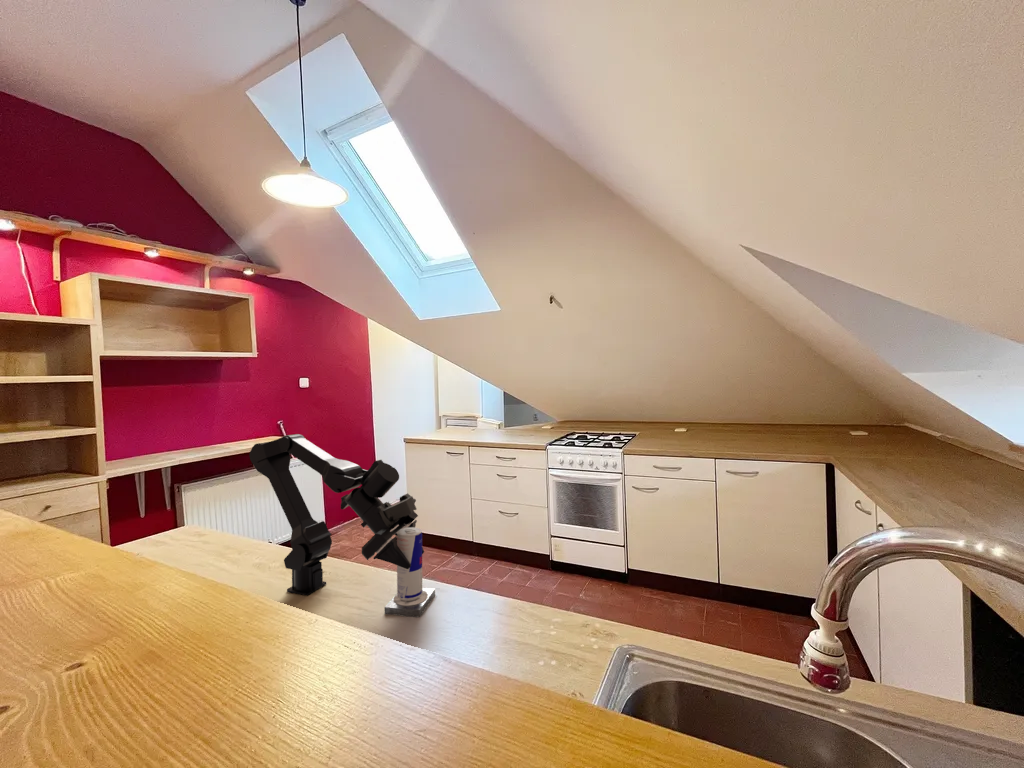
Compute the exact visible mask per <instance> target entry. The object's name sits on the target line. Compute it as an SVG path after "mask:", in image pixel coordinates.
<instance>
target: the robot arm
mask: <svg viewBox="0 0 1024 768" xmlns="http://www.w3.org/2000/svg"><path fill="white" fill-rule="evenodd" d="M250 449H251V450H249V460H250V462H251V463H252V465H253V467H254V468H255V470H256V471H257V472H258V473H259V474H261V475H263V476H264V477H265V478H267V479H268V481H269V483H270V486H271V487H272V489H273V491H274V493H275V496H276V498H277V500H278V503H279V504H280V506H281V509H282V510H283V514H285V518H286V519H287V521H288V523H289V527H291V535H290V536H291V537H290V546H291V551H289V553H288V554H287V555H286V556H285V558H284V559H283V563H284V566H285V569H288V570H291V579H292V580H291V586H290V587H288V588H287V589H286V592H287V593H288V592H289V593H293V594H298V595H303V596H309V595H311V594H312V593H314V592H316V591H317V590H319V589H321V588H322V587H325V586H326V585H327V581H323V574H324V573H323V568H322V566H323V565H322V561H323V560H324V559H325V560H326V559H327V558H328V555H329V551H330V550H331V547H332V544H333V540H332V537H331V536H332V533H331V532H330V530H329V529H328V526H327V523H326V522H325V521H324V520H321V521H319V522H318V521H316V520H315V519H314V518H313V517H312V515H311V513H310V510H309V507H307V504H306V502H305V500H304V498H303V495H302V494H301V491H300V489H299V488H298V484H297V483H296V480H295V479H294V477H293V475H292V473H291V470H290V465H291V456H293V457H294V458H296V459H297V460H299V461H300V462H301V463H303V464H305V465H307V466H308V467H309V468H311V469H312V470H314V471H315V472H317V473H319V475H320V476H321V479H322V481H323V483H324V484H325V485H326V486H327V487H328V488H329V489H330V490H331V491H332V492H334V493H336V494H342V493H343V492H346V491H350V490H351V491H350V493H349V494H344V495H343V496H341V497H340V498H341V500H340V501H341V502H340V509H341V510H345V509H346V508H348V507H350V508H351V510H353V511H354V513H355V514H356V515H357V516H358V517H359V518H360V520H361V521H362V522H361V523H360V526H361V527H362V528H365V527H367V528H368V529H369V530H370V531H371V532H372V533H373V536H372V537H371V538H370V539H368V541H367V542H365V544H363V546H362V547H361V555H362V556H363V557H364V558H365V560H367V561H368V560H369V559H371V558H373V560H380V561H384V562H387V563H389V564H393V565H395V566H396V567H397V566H400V567H403V568H405V569H409V568H410V567H411V564H410V562H409V561H408V559H407V558H406V557H405V555H404V554H403V553H402V551H401V550H400V548H399V547H398V546H397V535H398V531H399V530H401V529H403V528H411V527H414V528H416V524H417V522H418V521H417V518H418V517H419V515H418V514H417V513H416V510H417V506H416V505H415V503H416V501H417V500H416V498H414V497H413V495H410V494H409V493H405V494H403V495H401V496H400V497H399V502H396V503H394V504H391V503H390V502H389V501H388V502H387V501H386V502H383V501H381V498H383V497H385V496H386V494H387V493H388V492H389V491H390V490H391V489H392V488H393V487H394V486H395V484H396V483H398V481H399V480H400V474H399V472H398V470H397V469H396V467H393V466H392V465H390V464H388V463H386V462H384V461H383V459H378V460H374V461H373V462H372V464H371V466H370V467H369V468H368V469H363V468H362V466H360V465H359V464H357V463H354V462H352V461H349V460H347V459H341V458H336V457H334V456H332V455H331V454H330V453H328V452H326V451H325V450H324V449H322V448H320V447H319V446H317V445H315V444H314V443H313V442H311V441H310V440H308V439H306V438H305V437H304V435H303V434H299V433H295V434H288V435H284V436H281V437H279V438H278V439H274V440H271V441H266V442H260V443H259V442H258V443H255V444H254V445H253V446H251V448H250ZM393 536H394V537H393ZM423 554H425V550H424V547H423V546H422V555H423Z"/></svg>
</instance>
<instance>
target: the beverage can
mask: <svg viewBox="0 0 1024 768" xmlns="http://www.w3.org/2000/svg"><path fill="white" fill-rule="evenodd" d="M397 546H398V547H399V548H400V550H401V551H402V553H403V554H404V555H405V557H406V558H407V559H408V561H409V562H410V564H411V567H410V568H409V569H405V568H403V567H400V566H397V565H396V594H397V597H398V598H399V599H401V600H404V601H411V600H415V599H417V598H419V597H420V596H421V595H422V588H423V554H422V547H423V532H422V528H419V527H415V528H414V527H411V528H403V529H401V530H399V531H398V535H397Z"/></svg>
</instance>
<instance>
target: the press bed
mask: <svg viewBox="0 0 1024 768" xmlns="http://www.w3.org/2000/svg"><path fill="white" fill-rule="evenodd" d="M435 596H436V588H432V587H422V595H421V596H420V597H419V598H417V599H415V600H411V601H404V600H401V599H399V598H398V597H397V593H396V594H395V595H394V596H393V597H392V598H391V599H390V600H389V602H388V603H386V605H385V606H384V615H389V616H390V615H393V616H402V617H413V618H414V617H415V618H421V616H422V614H423V613H424V612H425V610H426V608H427V607H428V606H429V605H430V603H431V602H432V600H433V598H434V597H435Z"/></svg>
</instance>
